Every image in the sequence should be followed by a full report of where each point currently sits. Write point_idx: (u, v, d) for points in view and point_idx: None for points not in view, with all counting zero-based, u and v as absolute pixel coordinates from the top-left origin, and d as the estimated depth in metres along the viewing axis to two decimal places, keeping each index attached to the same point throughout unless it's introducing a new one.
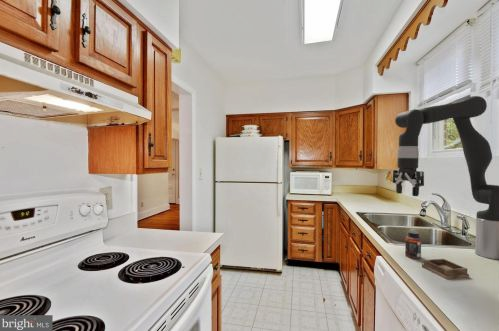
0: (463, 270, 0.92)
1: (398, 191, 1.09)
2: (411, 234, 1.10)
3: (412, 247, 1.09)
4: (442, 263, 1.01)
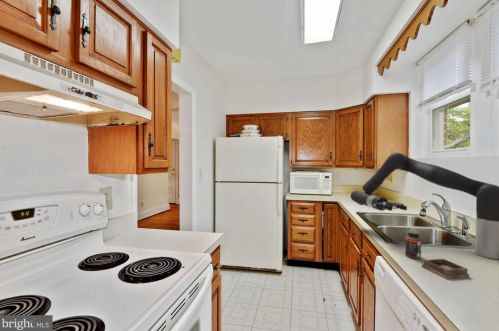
0: (463, 270, 0.92)
1: (404, 209, 1.25)
2: (411, 234, 1.10)
3: (412, 247, 1.09)
4: (442, 263, 1.01)
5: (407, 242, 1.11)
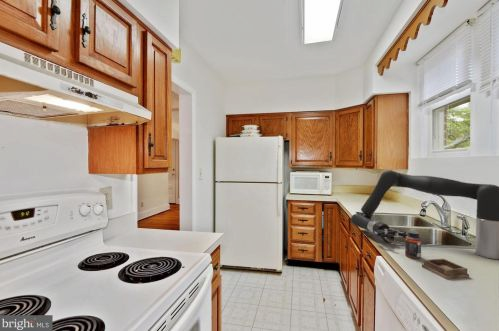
0: (463, 270, 0.92)
1: None
2: (411, 234, 1.10)
3: (412, 247, 1.09)
4: (442, 263, 1.01)
5: (407, 242, 1.11)
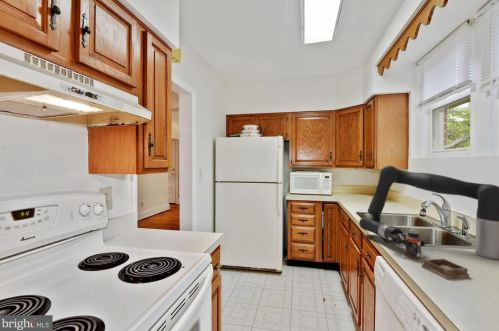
0: (463, 270, 0.92)
1: (421, 244, 1.10)
2: (411, 234, 1.10)
3: (412, 247, 1.09)
4: (442, 263, 1.01)
5: None
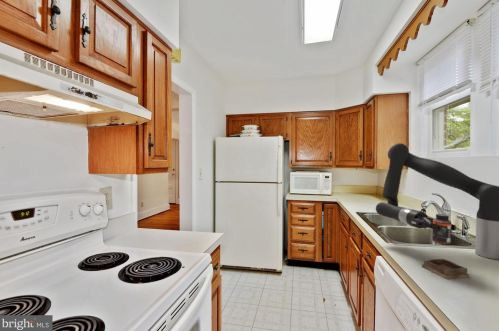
0: (463, 270, 0.92)
1: (452, 229, 0.96)
2: (440, 217, 0.96)
3: (441, 231, 0.95)
4: (442, 263, 1.01)
5: None
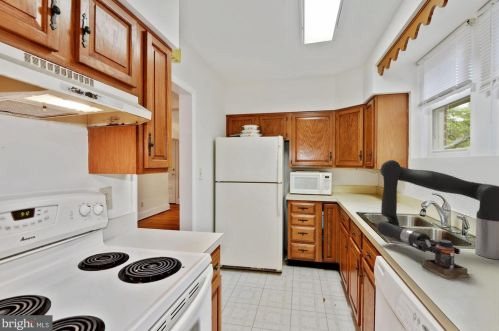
0: (463, 270, 0.92)
1: (456, 252, 0.96)
2: (442, 243, 0.95)
3: (444, 258, 0.94)
4: None
5: None
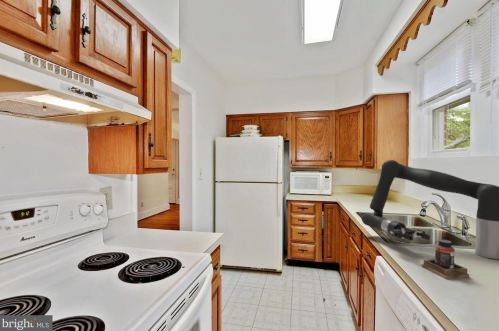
0: (463, 270, 0.92)
1: (426, 238, 1.09)
2: (442, 243, 0.95)
3: (444, 258, 0.94)
4: None
5: (438, 252, 0.96)
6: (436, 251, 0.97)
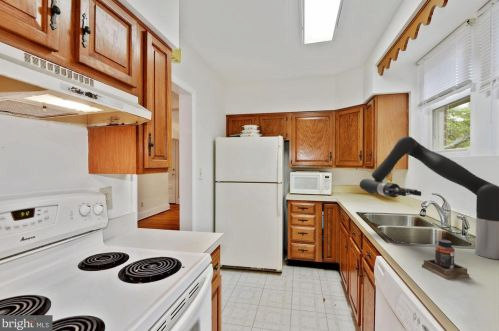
0: (463, 270, 0.92)
1: (418, 194, 1.19)
2: (442, 243, 0.95)
3: (444, 258, 0.94)
4: None
5: (438, 252, 0.96)
6: (436, 251, 0.97)
